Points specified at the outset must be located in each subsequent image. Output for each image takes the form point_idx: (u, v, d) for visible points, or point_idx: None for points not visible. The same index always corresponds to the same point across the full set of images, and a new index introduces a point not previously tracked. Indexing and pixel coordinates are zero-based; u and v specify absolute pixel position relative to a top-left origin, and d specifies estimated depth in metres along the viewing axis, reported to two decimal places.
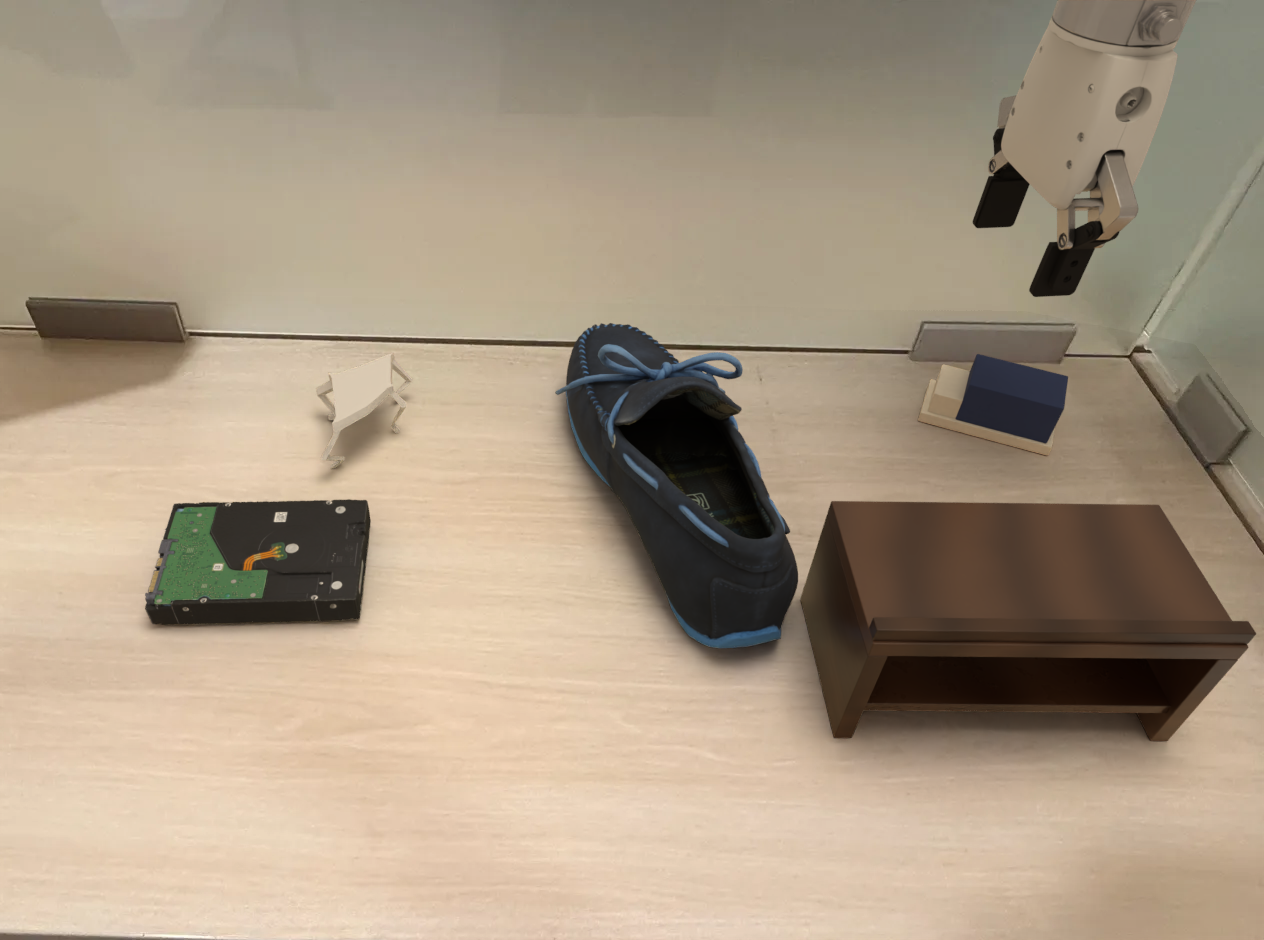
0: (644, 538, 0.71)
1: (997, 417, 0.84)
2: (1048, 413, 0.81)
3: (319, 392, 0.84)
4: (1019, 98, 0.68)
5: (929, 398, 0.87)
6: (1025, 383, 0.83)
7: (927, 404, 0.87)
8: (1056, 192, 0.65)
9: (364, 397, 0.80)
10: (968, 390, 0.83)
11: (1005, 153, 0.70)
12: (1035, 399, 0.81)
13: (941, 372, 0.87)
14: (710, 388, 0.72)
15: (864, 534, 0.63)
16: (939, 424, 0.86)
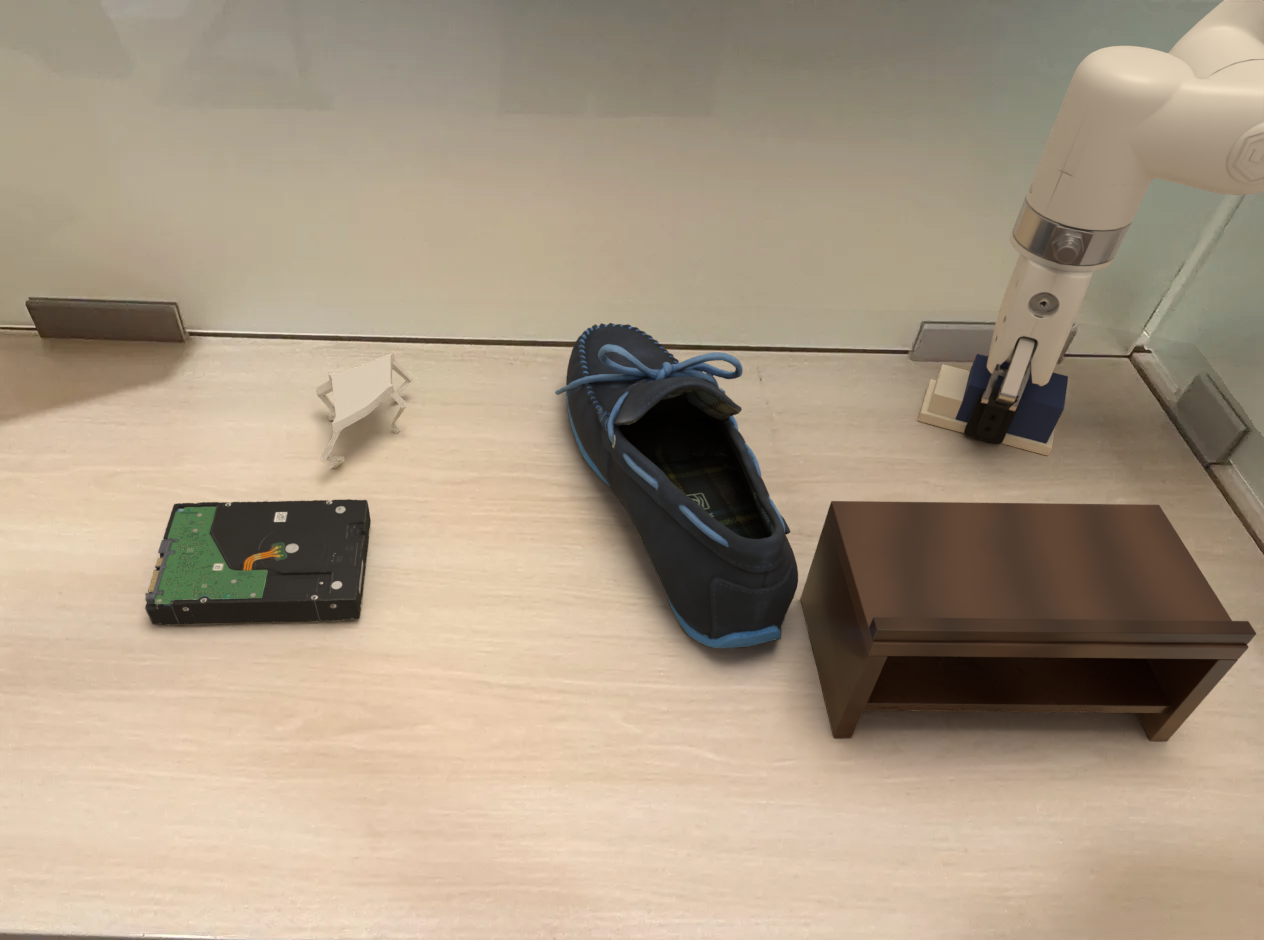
0: (644, 538, 0.71)
1: None
2: (1047, 413, 0.81)
3: (319, 392, 0.84)
4: None
5: (929, 398, 0.87)
6: None
7: (927, 404, 0.87)
8: (989, 358, 0.79)
9: (364, 397, 0.80)
10: (968, 390, 0.83)
11: None
12: (1035, 399, 0.81)
13: (941, 372, 0.87)
14: (710, 388, 0.72)
15: (864, 534, 0.63)
16: (939, 424, 0.86)
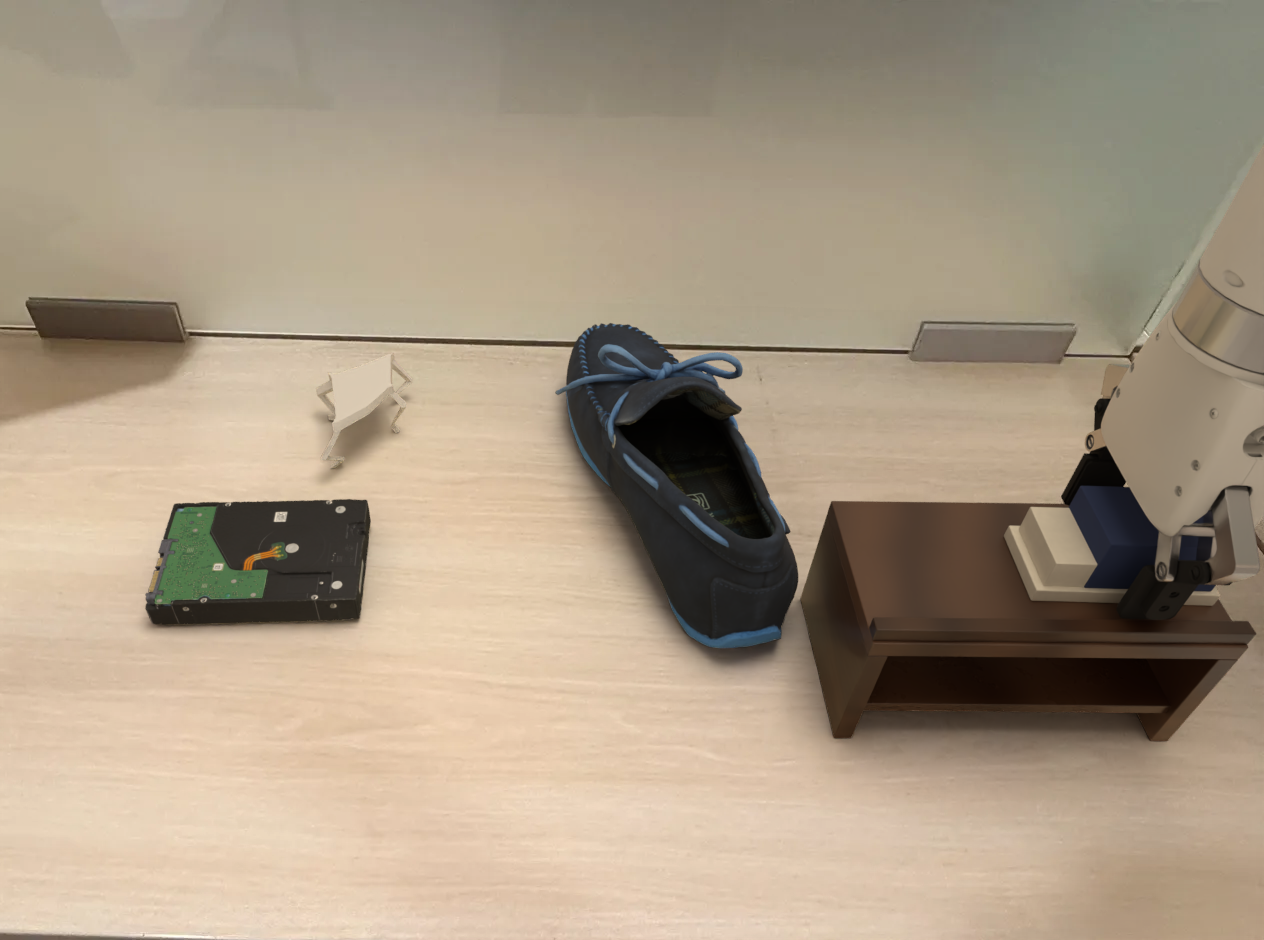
0: (644, 539, 0.71)
1: None
2: None
3: (319, 392, 0.84)
4: (1127, 381, 0.56)
5: (1030, 561, 0.60)
6: None
7: (1034, 572, 0.59)
8: (1160, 515, 0.52)
9: (364, 397, 0.80)
10: (1109, 551, 0.56)
11: (1105, 437, 0.58)
12: None
13: (1038, 522, 0.59)
14: (710, 388, 0.72)
15: (864, 534, 0.63)
16: (1062, 599, 0.59)
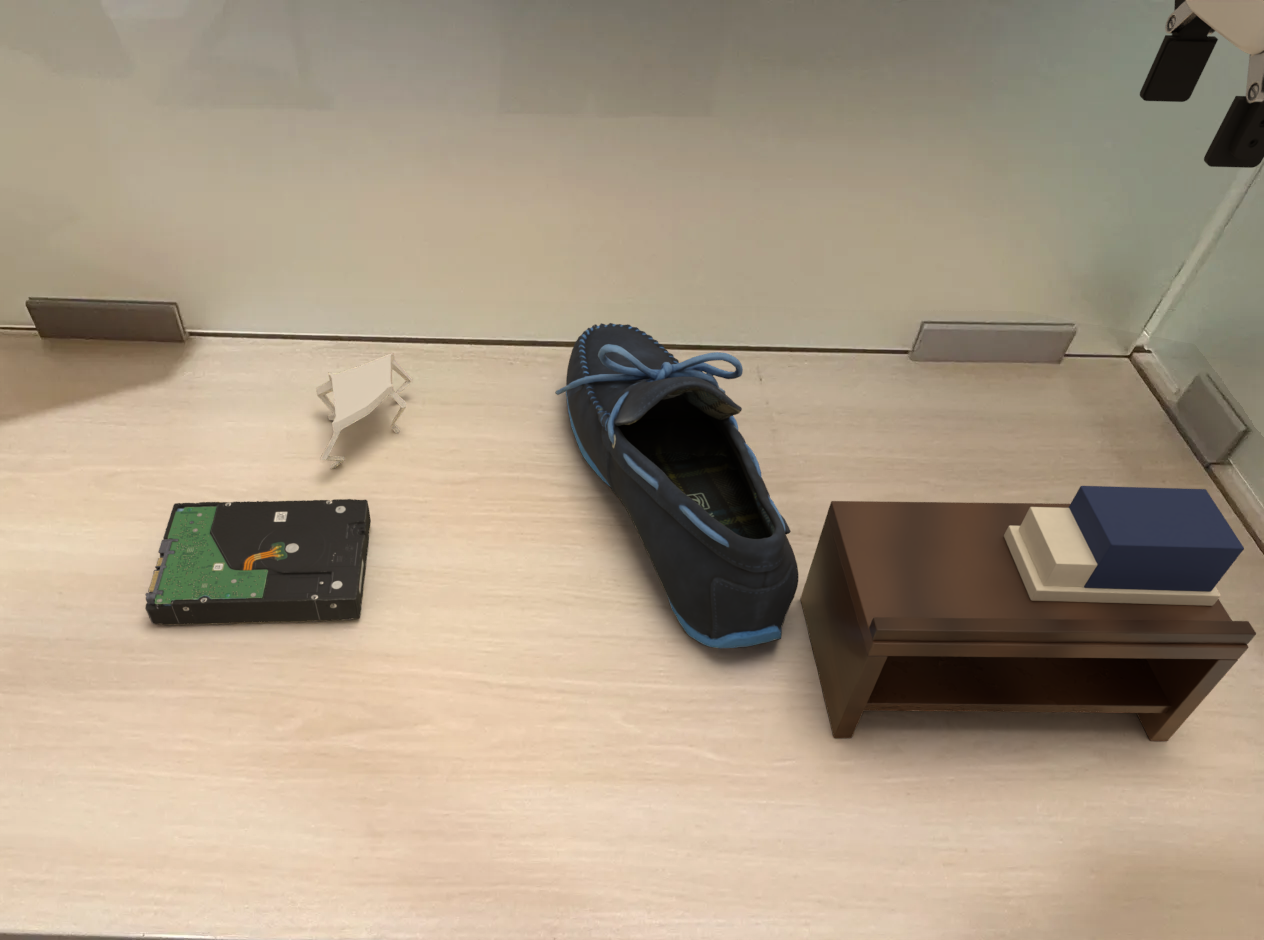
0: (644, 538, 0.71)
1: (1146, 575, 0.57)
2: (1220, 558, 0.56)
3: (319, 392, 0.84)
4: None
5: (1030, 561, 0.60)
6: (1170, 518, 0.57)
7: (1034, 572, 0.59)
8: (1251, 32, 0.55)
9: (364, 397, 0.80)
10: (1109, 551, 0.56)
11: (1189, 1, 0.60)
12: (1203, 544, 0.56)
13: (1038, 522, 0.59)
14: (710, 388, 0.72)
15: (864, 534, 0.63)
16: (1062, 599, 0.59)
